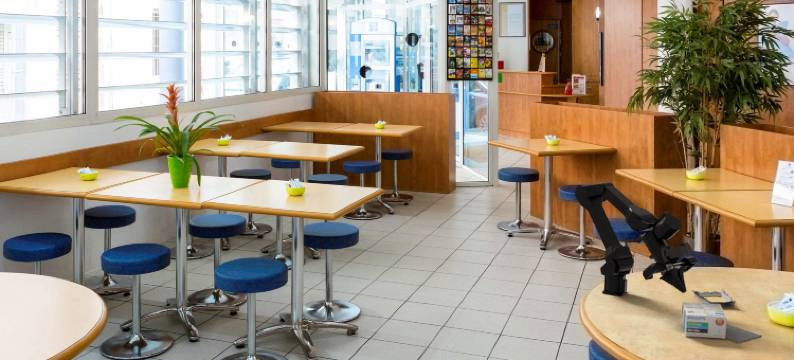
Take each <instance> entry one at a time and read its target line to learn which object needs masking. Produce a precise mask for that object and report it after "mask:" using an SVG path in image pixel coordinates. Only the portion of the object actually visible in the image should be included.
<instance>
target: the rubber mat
mask: <svg viewBox="0 0 794 360" xmlns="http://www.w3.org/2000/svg"><path fill="white" fill-rule="evenodd" d="M761 337H762V334H758V333H755V332H753V331H749V330H747V329H744V328H741V327H738V326H734V325H732V324H729V323H726V334H725V339H724V340H728V341H731V342H734V343H736V344H741V343H743V342H747V341H751V340H755V339H757V338H761Z"/></svg>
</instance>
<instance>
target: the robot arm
mask: <svg viewBox="0 0 794 360" xmlns="http://www.w3.org/2000/svg"><path fill="white" fill-rule="evenodd" d="M574 196H575V198H576V200H577V202H578V204H579V205H580V206H581V207H582V208H583V209H585V210H586V211H587V212H588V214H589V216H590V219H591V221H592V223H593V224H594V227H595V229H596V231H597V235H599V238H600V240H601V243H602V244H603V246H604V249H605V250H604V260H605V263H604V264H603V265H602V266H600V267H599V270H600V275H602V276H604V279H603V280H604V281H603V282H604V283H603V290H602V291H601V293H602V294H606V295H613V296H619V297H620V296H622V297H623V295H624V294H626V292H627V291H628V279H627V275H630V273H631V271H632V269H633V267H634V264H635V260H634V255H633V253H632V252H631V249H630V247H629V245H622V244H621V243H620V241H619V239H618V237H617V234H616V233H615V230H614V227H612V224H611V222H610V219H609V218H608V215H607V214H606V211H605V209H604V207H603V199H605V200H607V202H608V203H610V204H611V205H612V206H613V207H614V208H615V209H616V210H618V212H619V213H621V215H622V216H623V217H624V218H625V222H626V224H627V226H628V227H629V228H630V229H631V230H632V231H633V232H635V233H639V232H644V233H643V234H638V239H637V244H643V243H644V245H645V247H646V248H647V250H648V252H649V253H650V255H649V256H648V258H649V260H653V261H654V262H653V263H650V264H649V265H648V266H647V267H646V268H644V269H643V270H642V277H643V278H644V281H649V280H652V279H653V278H654V275H655V274H660V275H661V276H660V277H659V280H660V281H661V280H662V281H664V282H665V283H667V284H668V285H670V286H672V287H673V288H675V289H676V290H677V291H679V292H681V293H682V294H685V293H687V286H686V281H685V275H684V273H687V272H689V270H691V269H693V267H695V266H696V265H698V264H699V261H698V260H697V257H695V256H693V255H691V254H690V253H691V252H692V251H693V250H692V247H691V245H690V243H688V242H687V241H686V242H682V243H679V246H675V247H674V246H673V245H671V244H669V245H668V244H667V242H666V241H668V240H670V239H671V238H673V237H674V235H676V234H677V233H678V232H680V231H681V229H682V228H683V224H682V222H681V220H680V219H678V218H677V217H676V216H674V215H672V214H671V212H668V211H667V212H664V213H662V214H661V216H659V217H657V216H655V215H654V214H653V213H652V212H651V211H649V210H647V209H645V208H642V207H639V206H638V205H636V203H635V204H634V203H633V202H632V201H631V200H630V199H629V198H628V197H627V196H626V195H625V194H624V193H622V192H621V191H620V190H619V189H618V188H617V187H616V186H615V185H614V183H612V182H611V181H605V182H599V183H588V184H587V183H586V184H579V185H577V187H576V188H575V191H574ZM645 231H646V232H645Z"/></svg>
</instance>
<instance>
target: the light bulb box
mask: <svg viewBox="0 0 794 360" xmlns="http://www.w3.org/2000/svg"><path fill="white" fill-rule="evenodd" d="M681 304H682V306H681V307H682V308H681V327H682V329H683V331H684V335H685V337H686V338H709V339H711V338H712V339H722V340H723V339H724V340H726V339H725V334H726V324H727V316H726V313H725V311H724V309H723V308H722V306H721V304H709V303H703V302H687V301H683V302H682V303H681Z"/></svg>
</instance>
